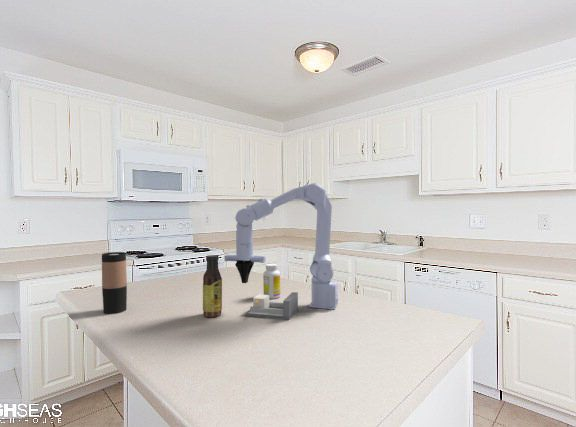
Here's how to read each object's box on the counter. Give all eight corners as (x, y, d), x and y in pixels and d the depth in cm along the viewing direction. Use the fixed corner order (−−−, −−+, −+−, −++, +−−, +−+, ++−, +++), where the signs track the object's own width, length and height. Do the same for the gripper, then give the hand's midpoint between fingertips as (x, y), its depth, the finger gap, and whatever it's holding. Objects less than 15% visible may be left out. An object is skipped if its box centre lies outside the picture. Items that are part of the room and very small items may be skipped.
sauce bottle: (217, 318, 110) (216, 257, 110) (199, 317, 111) (198, 256, 111) (225, 312, 117) (224, 254, 116) (208, 311, 118) (207, 253, 117)
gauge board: (297, 309, 119) (297, 292, 119) (289, 319, 109) (289, 301, 108) (257, 306, 123) (257, 289, 123) (245, 315, 113) (245, 297, 113)
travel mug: (97, 312, 117) (96, 254, 117) (117, 306, 124) (116, 251, 123) (112, 315, 114) (110, 255, 113) (132, 309, 121) (131, 252, 120)
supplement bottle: (281, 294, 139) (281, 263, 138) (279, 299, 132) (279, 266, 132) (265, 294, 139) (264, 263, 139) (262, 299, 133) (261, 266, 132)
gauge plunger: (269, 306, 119) (269, 295, 119) (261, 313, 111) (261, 301, 111) (258, 305, 120) (258, 294, 120) (249, 312, 112) (249, 300, 112)
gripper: (268, 242, 120) (268, 281, 120) (230, 241, 124) (230, 278, 124) (261, 245, 113) (261, 285, 114) (221, 243, 117) (221, 283, 118)
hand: (244, 282), depth 119 cm, fingers closed
